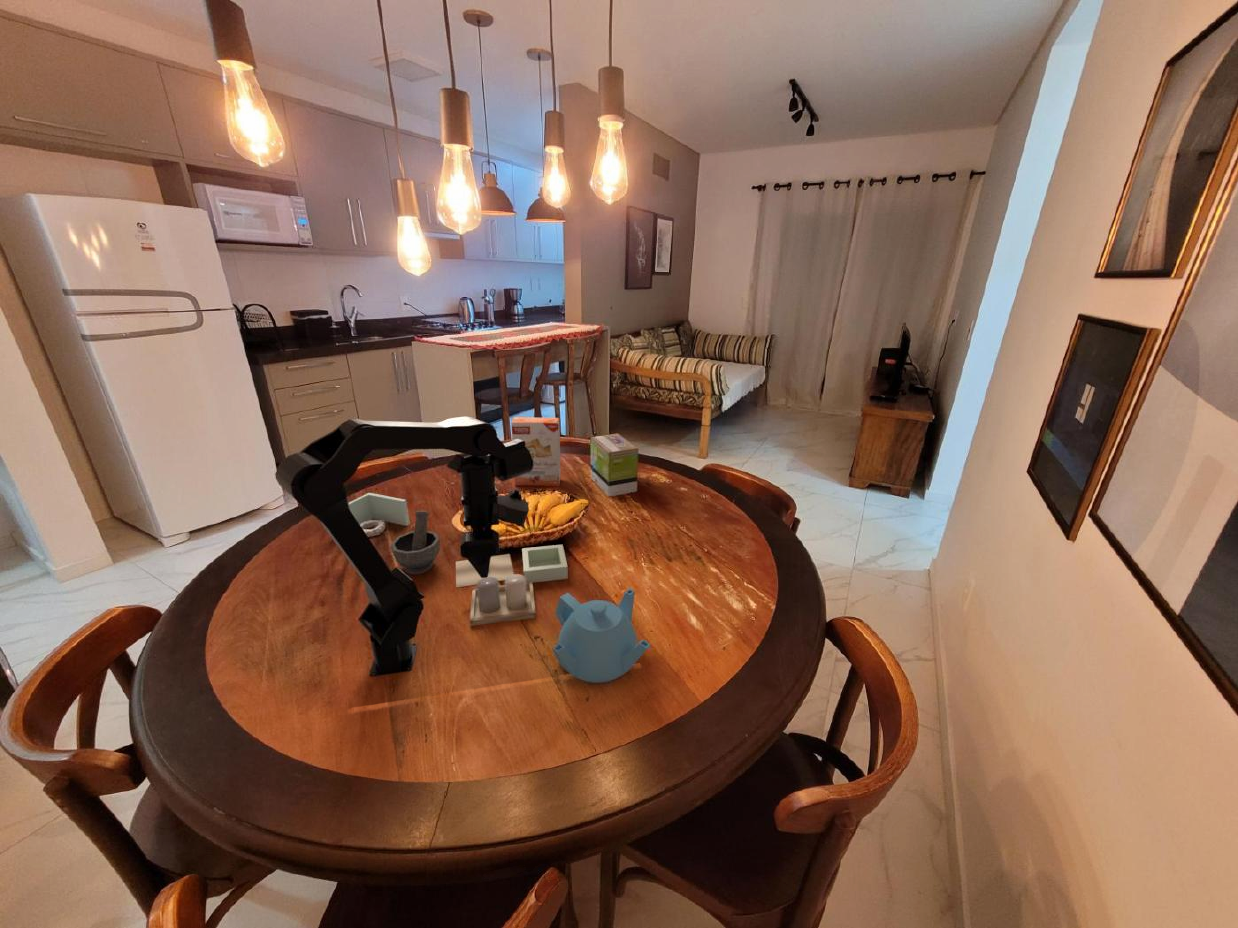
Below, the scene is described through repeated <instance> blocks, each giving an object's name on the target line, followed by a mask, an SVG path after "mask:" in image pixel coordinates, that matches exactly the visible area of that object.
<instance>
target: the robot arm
mask: <svg viewBox="0 0 1238 928" xmlns="http://www.w3.org/2000/svg"><path fill="white" fill-rule="evenodd" d="M394 450H395V451H398V450H399V451H400V450H402V451H403V450H404V451H405V450H406V451H409V450H448V451H452V452H455V453H457V454H455V455H454V457H453V458H452V459H451V460H450V461H449V462H448V463H447V464H446V467H447V468H448V469H449V470H452V471H453V472H456V473H458V474H460V475H459V476H460V483H461V485H460V486H461V500H460V501H461V506H463V513H464V514H463V515H464V518H463V527H470V528H471V530H470V531H469V530H467V531H465V532H464V534H462V536H461V538H460V547H459V549H460V556H461V557H462V558H464V559H466V560H468V561H469V562H470V563H471V564H472V566H473V567H474V568H475V570H476V571H477V573H478V574H479V575H480V577H481V578H487V577H488V572H489V565H490V559H491V557H492V556H497V555H498V554H500V534H499V532H497V531H496V530H494V529H492V528H493V526H498V525H499V526H500V521H501V522H503V523H508V524H512V525H516V526H517V527H523V526H525V522H526V521H527V517H528V514H529V512H530V509H529V508H530V507H529V502H527V500H526V498H522V493H521V490H519V489H515V488H513V489H511V490H510V491H509V492H508V493H507V494H506V493H505V494H504V495H500V494H499V489H498V488H497V486H496V478H497V479H498V480H499V481H501V482H506V481H509V480H510V479H514V478H515V477H518V476H520V475H523V474H526V473H529V472H531V471H532V469H533V459H532V457H531V454H530V452H529V450H528V449H527V448H526V447H525V441H523V440H521V439H515V440H512V439H511V441H508V442H504V443H503V442H502V441H501V440H500V439H499V437H498V434H497V430H496V428H495V427H494V425H493V424H491V423H488V422H485V421H483V420H481V419H480V420H479V419H477V418H474V417H473V416H467V415H466V416H458V417H451V418H447V419H445V420H443V421H438V422H426V421H425V422H421V421H420V422H419V421H418V422H417V421H391V420H389V421H387V420H385V421H384V420H363V419H359V418H351V419H346V420H345V421H343V422H342V423H341V424H340V425H339V426H337V427H336V428H335V429H334V430H332V431H330V432H329V433H327V434H325V435H324V436H321V437H319V438H317V439H316V440H313V441H312V442H310V443H309V444H308V445H306V446H305V447H304V448H303V449H302V450H301V451H299V452H295V453H294V454H290V455H288V456H286V457H284V458H283V459H282V460H281V461H280V463H279V464H278V466H277V469H276V471H275V472H274V473H275V474H274V475H275V479H276V481H277V484H278V485H279V487H281V488H282V489H283V490H285V492H286V493H288V494H289V495H290V496H291V497H292V498H293V499H294V501H297V503H299V505H300V506H302V507H303V508H304V509H305V510H307V511H308V513H310V514H311V515H312V516H313V517H315V518H316V520H318V522H319V523H320V524H321V525H322V527H323V529H324V530H325V531H326V532H327V534H328V535H329V536H330V538H331V539H332V540H333V542H334V544H335V545H336V546H337V547H338V549H339V550H340V551H341V553H342V554H343V555H344V557H345V558H346V559H347V561H348V562H349V563H350V565H351V566H352V567H353V569H354V570H355V572H356V573H357V575H358V576H359V577H360V578H361V580H362V581H363V583H364V587H365V593H366V596H367V598H368V601H369V603H368V604H367V606H366V607H365V608H364V610H363V612H362V613H361V615H360V616H359V618H358V622H359V623H360V624H361V625H362V626H363V628H365V629H366V631H367V632H369V634H370V635H369V639H370V644H371V648H372V649H371V650H372V654H373V662H372V665H371V668H370V671H369V674H368V675H369V676H370V677H378V676H385V675H390V674H398V673H405V672H411V671H412V669H413V667H414V661H415V658H416V653H417V648H418V643H417V642H411V640H412V639H413V638H414V637H416V632H417V629H418V628H417V627H418V625H419V620H420V616H421V614H422V612H423V610H424V608H425V605H424V602H423V600H422V599H425V597H426V596H425V595H424V594H422V593H421V592H420V591H419V590H418V587H417V585H416V583H415V581H414V580H413V579H412V578H411V577H410V576H409V575H408V574H406V572H404V571H403V570H402V569H400V568H399V567H398V566H395V567H394V568H393V569H392V570H391V569H390V567H389V566H388V564H387V563H386V561H385V559H384V558H383V557H382V556H381V554H380V553H379V551H378V549H377V548H376V546H375V545H374V544H373V542H372V541H371V539H370V537H368V536H367V535H366V533H365V532H364V530H363V529H362V527H361V526H360V524H359V523H358V522H357V520H356V519H355V517H354V516H353V514H352V513H351V511H350V508H349V497H348V493H347V491H346V488H345V486H344V484H346V483H347V482H348V480H350V479H351V478H352V477H353V476H354V475H355V473H356V472H357V470H358V469H359V467H360V466H361V464H362V462H363V460H364V459H365V458H366V457H367V456H368V455H369V454H370V453H371V452H372V451H394ZM458 453H459V454H458ZM460 454H464V455H466V456H462V455H460Z"/></svg>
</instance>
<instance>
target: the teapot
mask: <svg viewBox="0 0 1238 928" xmlns="http://www.w3.org/2000/svg"><path fill="white" fill-rule="evenodd" d="M635 593H636V591H635V589H631V588H628V589H627V590H626V591H624V595H623V596H622V597H621V600H620V601H619V602H620V603H619V604H618V606H617V604H615V603H612V602H610V601H609V600H602V599H601V600H600V599H593V600H588V601H586V602H584V603H581V602H579V601H578V600H577V599H576V598H575V597H574V596H573V595H572V594H570V593H569V592H566V593H565V594H563V595H561V596H560V597H559V600H558V602H557V607H556V608H555V609H556V610H555V612H554V614H555V616H556V618H557V619H558V622H559V624H560V625H561V630H560V632H559V636H558V638H557V644H556V645H555V646H554V647H553V648H552V651H553V653H554V656H555V658H556V659H557V661H558V663H559V665H560V667H562V668H563V669H564V670H565V671H566V672H567V673H568V674H570V675H571V676H572V677H573V678H576V679H578V680H580V681H583V682H586V683H591V684H603V683H608V682H611V681H614V680H616V679H618V678H620V677H622V676H623V675H625V674H627V672H628V671H629V670H631V668H633V666H634V665H635V664H636V663H637V662H638V660H639V659H640V658H641V657H642V656H643V655H644V654H645V652H646V651H647V650H648V649H649V648H650V647H651V645H652V644H651V643H650V642H648V641H646V640H645V639H644V638H643V639H641V640H640V641H639V640H638V637H637V632H636V630H635V628H634V626H633V623H632V621H633V613H634V603H635ZM638 641H639V642H638Z"/></svg>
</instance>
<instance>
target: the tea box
mask: <svg viewBox="0 0 1238 928" xmlns="http://www.w3.org/2000/svg"><path fill="white" fill-rule="evenodd" d="M589 444H590V478H591V480H592V481H594V483H595V484H596V485H597V486H598V487H599V488H600V489H601V490H602V491H603V492H604V494H605V495H607V497H616V496H621V495H625V494H632V493H637V491H638V471H639V470H638V469H639V467H638V466H639V448H638V447H637V446H636V445H635V444H633V443H632V442H630V441H629V440H628V439H626V438H625V437H623V436H622V435H621V434H619V433H612V434H606V435H598V436H597V435H596V436H590V443H589ZM631 492H632V493H631Z"/></svg>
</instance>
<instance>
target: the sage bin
mask: <svg viewBox="0 0 1238 928" xmlns="http://www.w3.org/2000/svg"><path fill="white" fill-rule="evenodd" d="M563 545H564V544H556V545H554V544H552V545H543V546H542V545H541V546H536V547H535V546H534V547H532V546H531V547H524V548H521V552H522V553H521V555H522V556H521V557H522V568H523V576H524V577H525V578H526V583H528V582H532V584H533V583H543V582H550V581H558V580H559V581H561V580H568V579H569V575H568V574H569V573H568V572H569V571H568V563H567V558H566V554H565V549H564V546H563Z"/></svg>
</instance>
